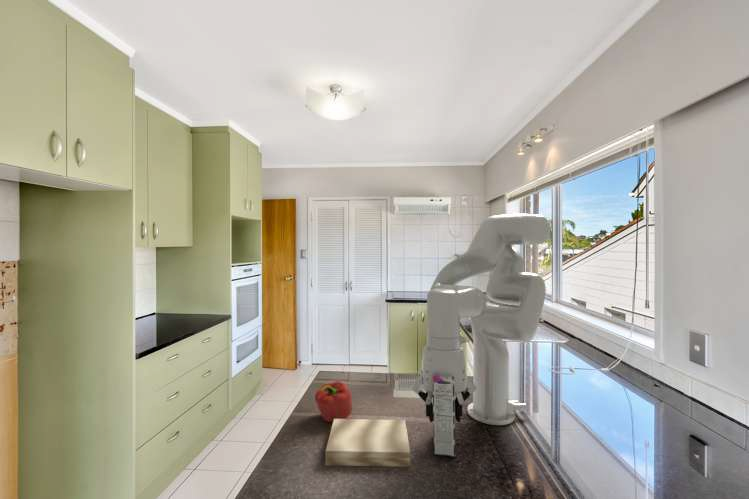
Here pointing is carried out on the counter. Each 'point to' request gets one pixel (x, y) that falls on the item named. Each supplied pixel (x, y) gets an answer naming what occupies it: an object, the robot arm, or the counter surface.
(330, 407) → the vegetable
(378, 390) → the counter surface
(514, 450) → the counter surface
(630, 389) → the counter surface
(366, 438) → the wavy beige tile
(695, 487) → the counter surface
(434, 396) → the candy bar box
